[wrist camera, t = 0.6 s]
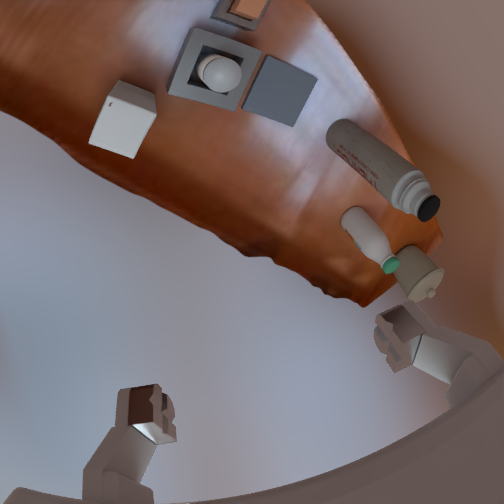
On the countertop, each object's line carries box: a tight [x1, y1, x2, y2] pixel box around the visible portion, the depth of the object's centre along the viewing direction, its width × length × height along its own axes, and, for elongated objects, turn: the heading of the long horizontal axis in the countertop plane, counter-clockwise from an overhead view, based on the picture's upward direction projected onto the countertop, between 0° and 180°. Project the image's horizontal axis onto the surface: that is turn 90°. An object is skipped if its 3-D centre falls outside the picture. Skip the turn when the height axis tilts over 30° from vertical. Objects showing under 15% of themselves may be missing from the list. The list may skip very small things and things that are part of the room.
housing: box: [166, 28, 263, 112], centre depth 38 cm, size 11×11×6 cm
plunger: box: [227, 0, 267, 20], centre depth 30 cm, size 3×3×6 cm
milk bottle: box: [341, 206, 400, 274], centre depth 70 cm, size 8×8×20 cm
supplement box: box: [88, 80, 157, 159], centre depth 36 cm, size 7×7×13 cm
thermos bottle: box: [326, 119, 440, 222], centre depth 48 cm, size 8×8×28 cm
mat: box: [241, 55, 318, 127], centre depth 47 cm, size 11×11×1 cm
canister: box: [393, 245, 444, 302], centre depth 95 cm, size 18×18×21 cm
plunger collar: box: [210, 0, 271, 31], centre depth 32 cm, size 6×6×5 cm
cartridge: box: [194, 52, 242, 92], centre depth 36 cm, size 5×5×11 cm
